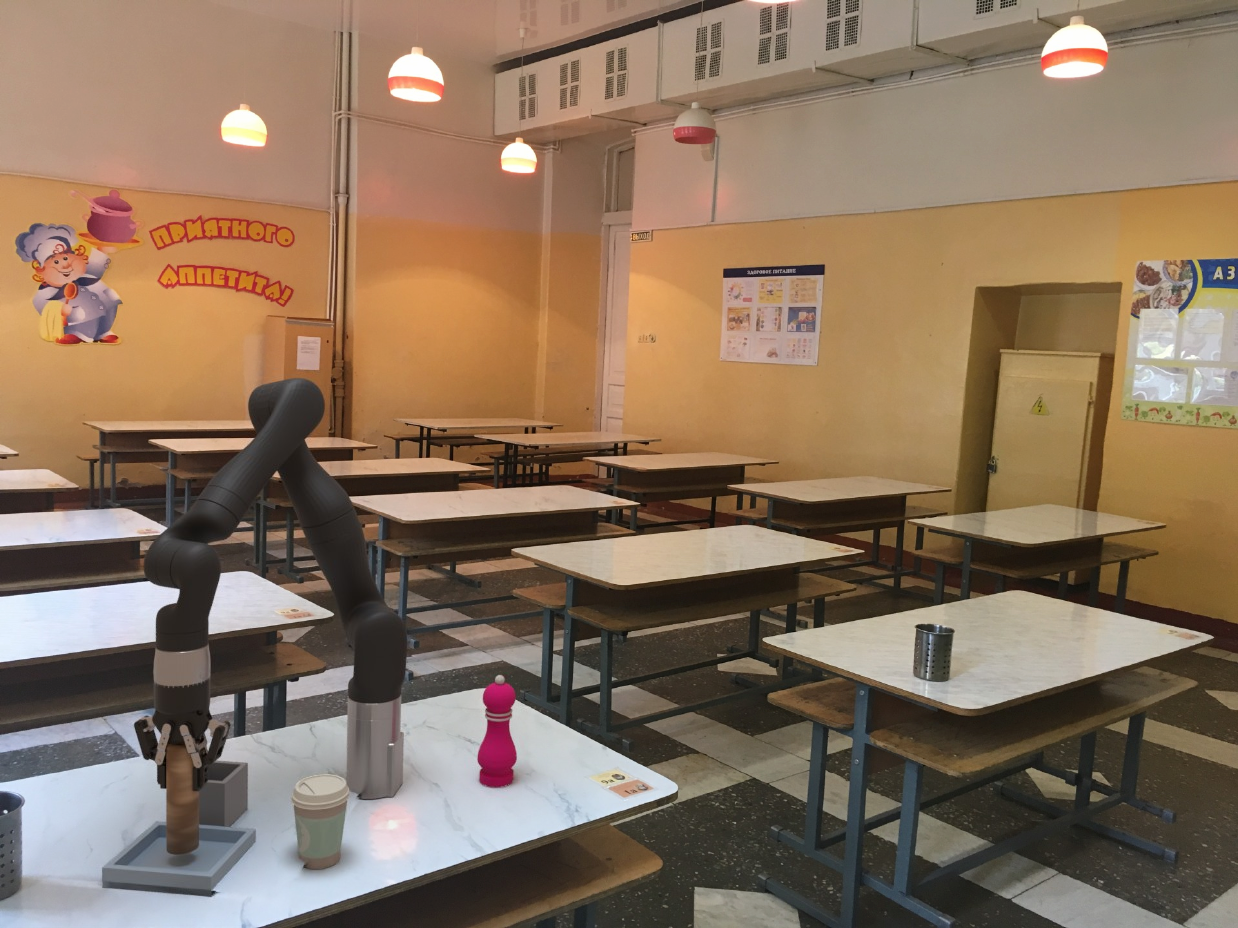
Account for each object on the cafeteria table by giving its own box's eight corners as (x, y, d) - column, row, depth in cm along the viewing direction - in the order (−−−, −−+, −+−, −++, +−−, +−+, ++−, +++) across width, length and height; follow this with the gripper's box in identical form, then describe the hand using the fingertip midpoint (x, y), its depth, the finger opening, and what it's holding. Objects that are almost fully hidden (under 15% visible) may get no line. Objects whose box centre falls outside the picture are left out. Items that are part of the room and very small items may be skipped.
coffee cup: (298, 845, 149) (299, 771, 148) (353, 845, 150) (354, 772, 149) (283, 874, 141) (284, 796, 139) (342, 874, 141) (343, 797, 140)
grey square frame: (247, 814, 158) (247, 762, 157) (224, 837, 150) (224, 783, 149) (201, 810, 159) (201, 759, 158) (175, 834, 151) (175, 779, 150)
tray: (255, 847, 148) (255, 828, 148) (211, 896, 134) (211, 876, 134) (156, 839, 149) (156, 820, 149) (102, 887, 135) (102, 867, 135)
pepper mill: (469, 783, 174) (472, 677, 172) (489, 768, 180) (492, 666, 178) (504, 791, 171) (507, 684, 169) (522, 776, 178) (526, 672, 176)
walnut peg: (204, 840, 143) (204, 738, 142) (189, 855, 139) (189, 750, 137) (176, 838, 144) (176, 736, 142) (160, 853, 139) (160, 748, 138)
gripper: (241, 670, 142) (241, 780, 144) (149, 664, 143) (150, 773, 144) (217, 687, 134) (216, 802, 136) (120, 680, 135) (120, 795, 137)
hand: (182, 787), depth 140 cm, fingers closed on walnut peg, 4 cm apart
